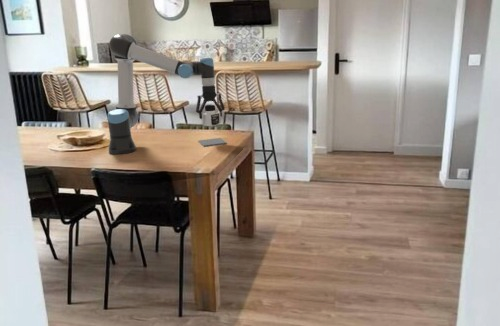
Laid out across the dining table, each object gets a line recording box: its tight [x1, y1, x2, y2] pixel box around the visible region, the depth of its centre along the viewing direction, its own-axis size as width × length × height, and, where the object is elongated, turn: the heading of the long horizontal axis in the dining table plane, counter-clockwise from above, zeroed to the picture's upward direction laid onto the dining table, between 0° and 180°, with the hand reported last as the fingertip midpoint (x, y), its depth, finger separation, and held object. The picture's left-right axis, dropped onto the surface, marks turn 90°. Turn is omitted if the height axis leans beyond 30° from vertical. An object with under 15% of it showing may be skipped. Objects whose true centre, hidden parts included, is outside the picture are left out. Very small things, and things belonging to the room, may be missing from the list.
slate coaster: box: [197, 137, 227, 148], centre depth 271 cm, size 14×14×1 cm
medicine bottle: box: [202, 104, 220, 127], centre depth 266 cm, size 7×7×12 cm
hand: (211, 123), depth 268 cm, fingers closed on medicine bottle, 10 cm apart
